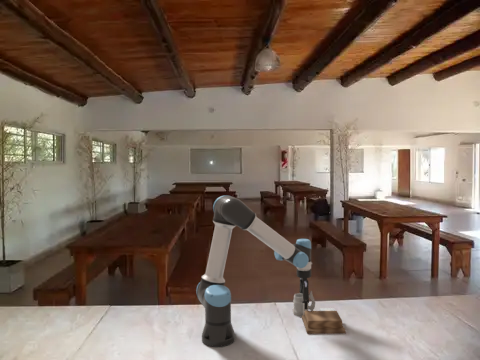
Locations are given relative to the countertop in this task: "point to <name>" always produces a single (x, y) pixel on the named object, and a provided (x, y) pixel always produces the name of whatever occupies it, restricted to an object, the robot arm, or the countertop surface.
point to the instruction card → (326, 309)
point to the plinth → (323, 322)
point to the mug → (301, 304)
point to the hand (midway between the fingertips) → (304, 310)
